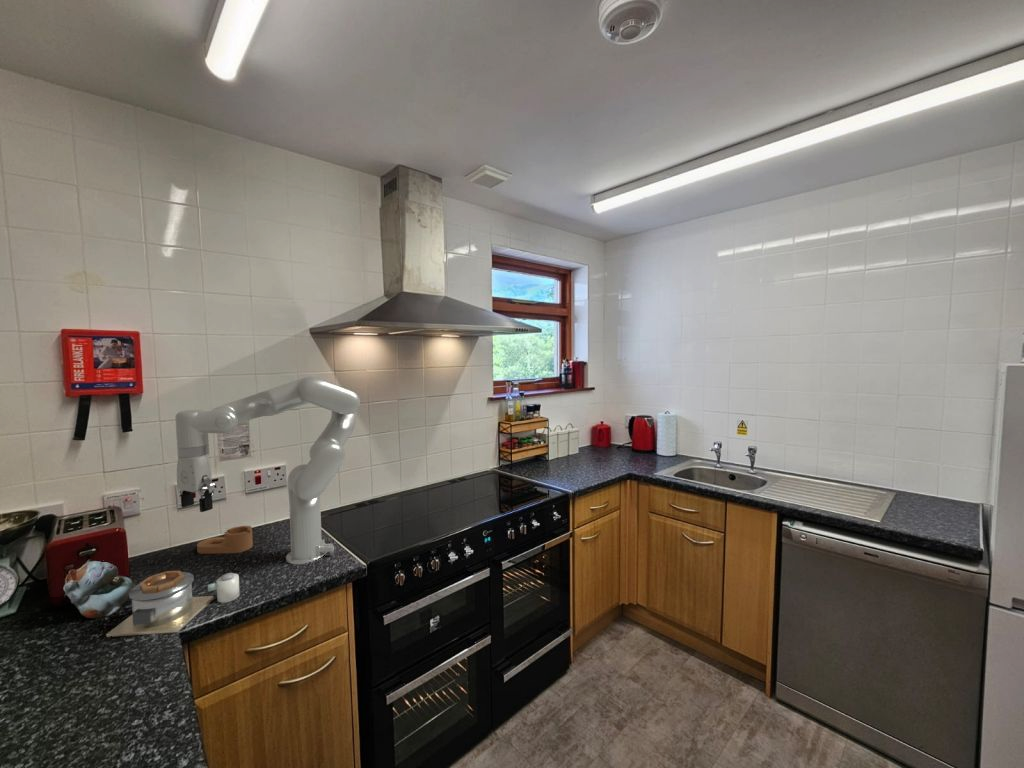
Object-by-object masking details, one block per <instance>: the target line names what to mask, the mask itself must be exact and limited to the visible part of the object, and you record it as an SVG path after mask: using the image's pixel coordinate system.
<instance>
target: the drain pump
mask: <svg viewBox="0 0 1024 768" xmlns="http://www.w3.org/2000/svg"><path fill="white" fill-rule="evenodd" d="M215 590H216V596H217V597H216V598H217V599H216V600H217V602H218V603H222V604H224V603H228V602H232V601H235V600H236V599H238V598H239V597H240V594H241V593H240V576H239V574H238V573H234V572H227V573H225V574H222V575H221V576H220V577H218V578H217V579H216V582H214V583H209V584H207V592H212V591H215Z"/></svg>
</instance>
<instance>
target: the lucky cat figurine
mask: <svg viewBox="0 0 1024 768" xmlns="http://www.w3.org/2000/svg"><path fill="white" fill-rule="evenodd" d="M101 561H102V560H100V561H97V560H92V559H89V558H88V560H87V561H86V562H84V564H82V566H81V567H79V568H77V569H70V570H69V571H68V574H66V577H65V579H64V585H63V591H64V593H65V595H66V596H67V597H68V598H69V600H70V602H71V604H73V605H74V606H75V607H76V608H77V609H78V610H79V613H80V614H81V615H82V616H83V617H85V618H86V619H88V618H89V619H98V618H101V617H109V616H110V615H112V614H114V613H116V612H117V611H118V610H119V609H120V608H121V607H122V605H124V604H125V603H126V602H127V601H129V600H131V599H130V598H129V592H130V590H131V589H132V588H133V587H135V583H134V582H133V580H132V579H131V578H130V577H127V576H124V575H119V570H118V567H117V566H116V565H114V564H113V563H112V564H111V563H109V562H101Z"/></svg>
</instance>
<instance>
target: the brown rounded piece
mask: <svg viewBox="0 0 1024 768" xmlns="http://www.w3.org/2000/svg"><path fill="white" fill-rule="evenodd" d="M253 541H254V539H253V527H252V526H250V525H241V526H235V527H231V528H229V529H227V530H226V531H224V536H219V537H218V536H215V537H210V538H207V539H204V540H201V541H200V542H198V543H197V544H196V547H197V548H196V549H197V551H196V552H197V553H198V554H203V555H204V554H205V555H206V554H213V555H214V554H238V553H242V552H246V551H248V550H250V549H251V548H253V546H254V543H253Z"/></svg>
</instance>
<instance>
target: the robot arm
mask: <svg viewBox="0 0 1024 768" xmlns="http://www.w3.org/2000/svg"><path fill="white" fill-rule="evenodd" d="M306 404H312V405H315V406H316V407H317V406H318V407H320V408H322V409H326V410H329V411H331V417H330V420H329V421H328V424H327V425H326V427H324V429H323V431H322V432H321V433H320V435H318V437H317V439H316V440H315V441H314V442H313V444H312V445H311V447H310V449H309V458H310V460H309V461H308V463H307V464H305V463H304V464H299V465H297V466H295V467H294V468H292V469H291V471H290V472H289V474H288V477H287V491H288V500H289V502H288V503H289V527H290V529H289V530H290V551H289V552H288V553H287V554H286V556H285V561H286V562H287V563H288V564H291V565H306V564H305V563H307V564H310V563H309V562H311V563H314V562H316V561H315V560H317V561H319V560H320V559H319V558H321V557H323V556H324V555H325V554H326V553H327V554H328V552H329V553H330V552H334V551H335V546H334V543H326V541H325V539H322V515H321V514H322V513H321V510H322V509H321V508H322V507H321V506H322V505H321V504H322V503H321V495H322V494H323V493H324V492H325V490H326V489H327V487H328V486H329V484H330V483H331V482H332V481H333V479H334V477H335V476H336V474H337V473H338V472H339V471H340V468H341V467H342V466H343V464H344V462H345V457H346V455H345V454H346V453H345V450H344V446H345V444H346V443H347V442H348V440H349V438H350V436H351V434H352V433H353V431H354V429H355V426H356V422H357V411H358V410H360V409H359V408H360V406H361V399H360V397H359V395H358V393H356V392H355V391H353V390H350V389H348V388H345V387H342V386H339V385H338V384H334V383H331V382H329V381H326V380H324V379H321V378H319V377H315V376H306V377H301V378H299V379H296V380H293V381H290V382H288V383H285V384H284V383H283V384H281V385H279V386H275V387H273V388H269V389H266V390H264V391H260V392H257V393H255V394H252V395H249V396H246V397H243V398H239V399H237V400H233V401H230V402H227V403H225V404H222V405H219V406H217V407H214V408H212V410H207V411H206V410H202V409H190V410H183V411H179V412H177V413H176V414H175V431H176V432H175V433H176V450H177V451H176V452H177V464H176V487H177V489H179V494H180V504H181V505H180V507H182V508H186V507H190V506H193V505H194V504H195V496H194V493H198V495H199V497H200V498H198V499H199V500H198V502H199V512H200V513H204V512H207V511H210V510H213V496H214V491H215V490H214V488H215V483H214V482H213V481H212V480H213V479H212V469H211V464H210V458H209V456H210V443H209V434H228V433H230V432H232V431H234V430H235V429H236V427H237V426H238V425H240V424H242V423H245V422H248V421H250V420H253V419H257V418H262V417H271V416H276V415H279V414H280V415H281V414H282V413H284V412H287V411H290V410H293V409H295V408H299V407H302V406H303V405H306ZM327 554H326V555H327ZM326 555H325V556H326ZM325 556H324V557H325ZM324 557H323V558H324ZM318 559H319V560H318ZM321 559H322V558H321ZM313 561H314V562H313Z"/></svg>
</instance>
